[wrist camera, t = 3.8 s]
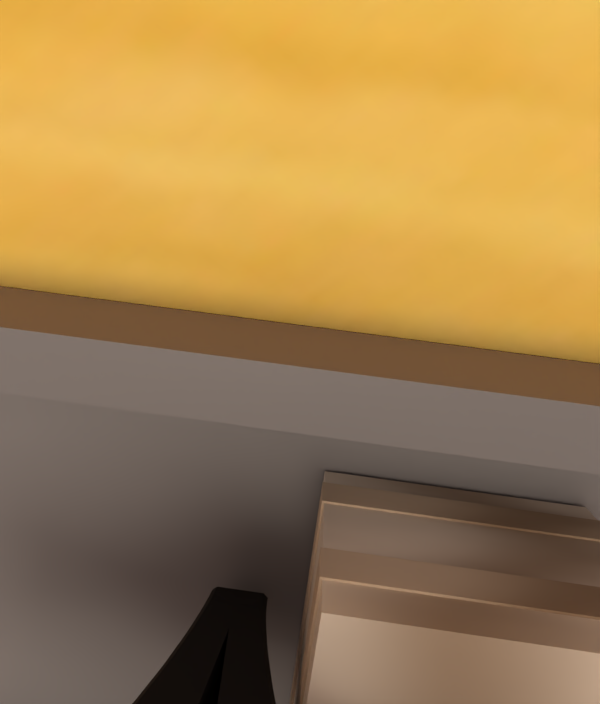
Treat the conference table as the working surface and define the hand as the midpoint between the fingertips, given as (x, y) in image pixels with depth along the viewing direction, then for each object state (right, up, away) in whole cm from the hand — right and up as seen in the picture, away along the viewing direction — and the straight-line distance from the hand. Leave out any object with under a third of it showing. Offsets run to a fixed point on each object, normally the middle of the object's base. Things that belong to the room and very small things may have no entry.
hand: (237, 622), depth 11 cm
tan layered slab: (+5, 0, +1) cm, 5 cm away
